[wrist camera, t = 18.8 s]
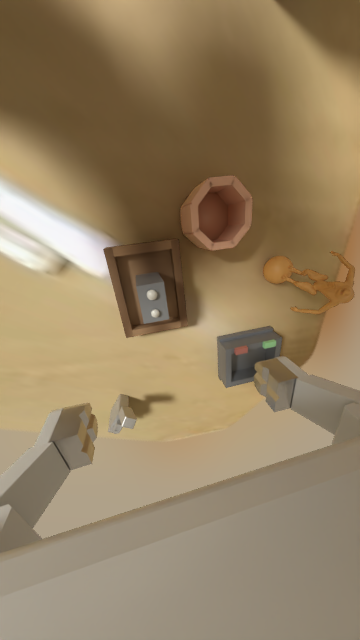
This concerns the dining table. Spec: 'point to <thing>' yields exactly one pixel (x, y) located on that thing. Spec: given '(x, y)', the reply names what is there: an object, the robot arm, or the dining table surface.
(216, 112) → the dining table surface
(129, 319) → the brown wooden tray
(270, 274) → the figurine
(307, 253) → the dining table surface
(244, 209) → the pink octagonal pot
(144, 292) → the battery
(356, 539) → the robot arm
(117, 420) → the lighter
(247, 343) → the tray
